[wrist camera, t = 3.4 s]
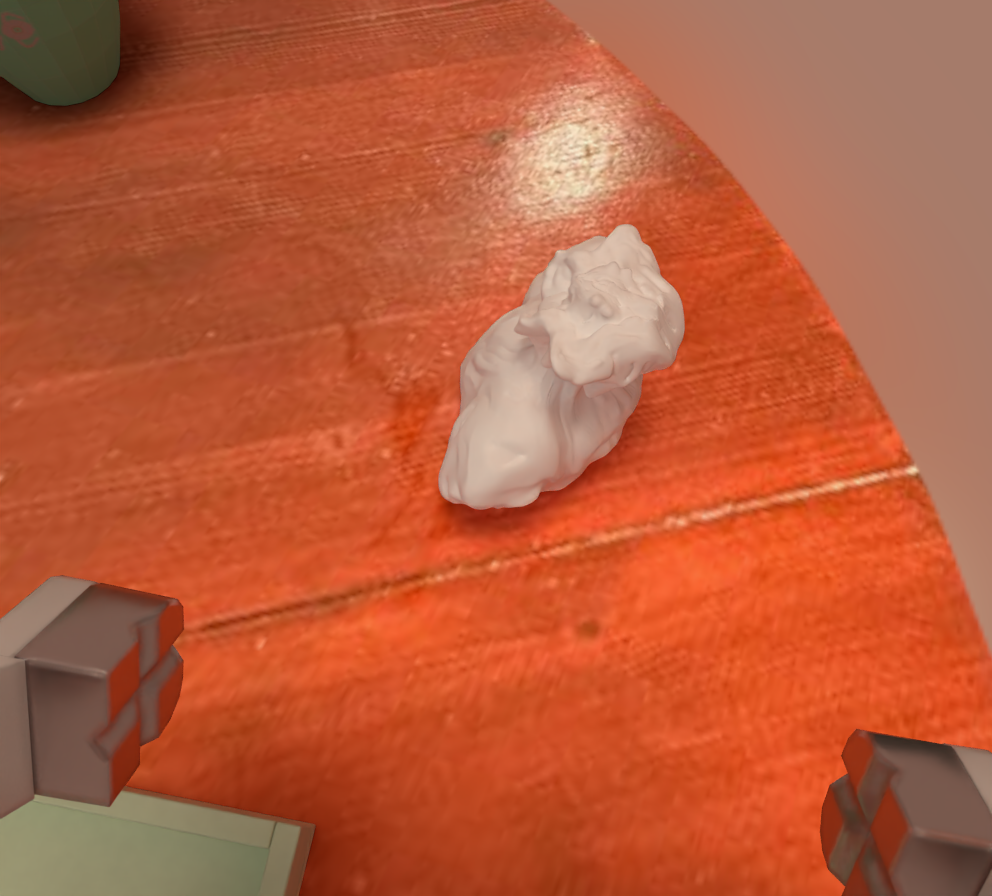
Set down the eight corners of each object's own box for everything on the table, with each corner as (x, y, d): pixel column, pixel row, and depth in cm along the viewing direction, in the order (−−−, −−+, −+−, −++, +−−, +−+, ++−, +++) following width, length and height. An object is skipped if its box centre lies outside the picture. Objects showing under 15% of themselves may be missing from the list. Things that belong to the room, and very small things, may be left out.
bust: (482, 562, 34) (698, 581, 25) (335, 457, 30) (522, 435, 21) (597, 331, 38) (817, 274, 29) (480, 217, 35) (687, 111, 26)
